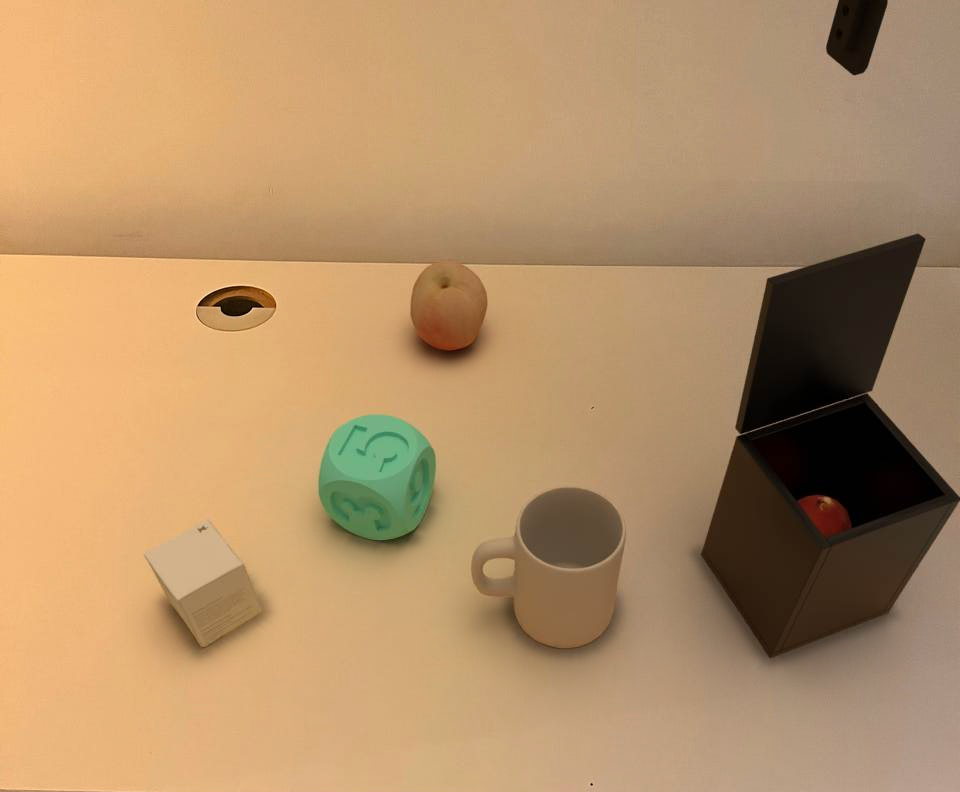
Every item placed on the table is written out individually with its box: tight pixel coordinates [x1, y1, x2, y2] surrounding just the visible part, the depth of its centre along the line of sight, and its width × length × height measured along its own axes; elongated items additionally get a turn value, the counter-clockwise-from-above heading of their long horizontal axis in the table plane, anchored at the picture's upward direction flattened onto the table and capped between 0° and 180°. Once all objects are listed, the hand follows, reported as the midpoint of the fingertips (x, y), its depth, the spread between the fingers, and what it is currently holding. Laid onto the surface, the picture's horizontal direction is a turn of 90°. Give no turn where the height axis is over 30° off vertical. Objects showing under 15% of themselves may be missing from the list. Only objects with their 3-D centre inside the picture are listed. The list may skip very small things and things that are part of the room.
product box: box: [143, 518, 263, 648], centre depth 78 cm, size 6×6×7 cm
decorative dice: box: [317, 413, 437, 541], centre depth 83 cm, size 8×8×8 cm
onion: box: [797, 495, 852, 538], centre depth 78 cm, size 6×6×8 cm
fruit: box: [409, 259, 489, 351], centre depth 95 cm, size 8×8×8 cm
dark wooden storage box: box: [700, 392, 960, 659], centre depth 75 cm, size 12×12×15 cm
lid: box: [734, 233, 926, 435], centre depth 66 cm, size 12×12×1 cm
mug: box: [470, 485, 627, 649], centre depth 76 cm, size 12×8×11 cm
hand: (914, 44), depth 55 cm, fingers open, 9 cm apart
